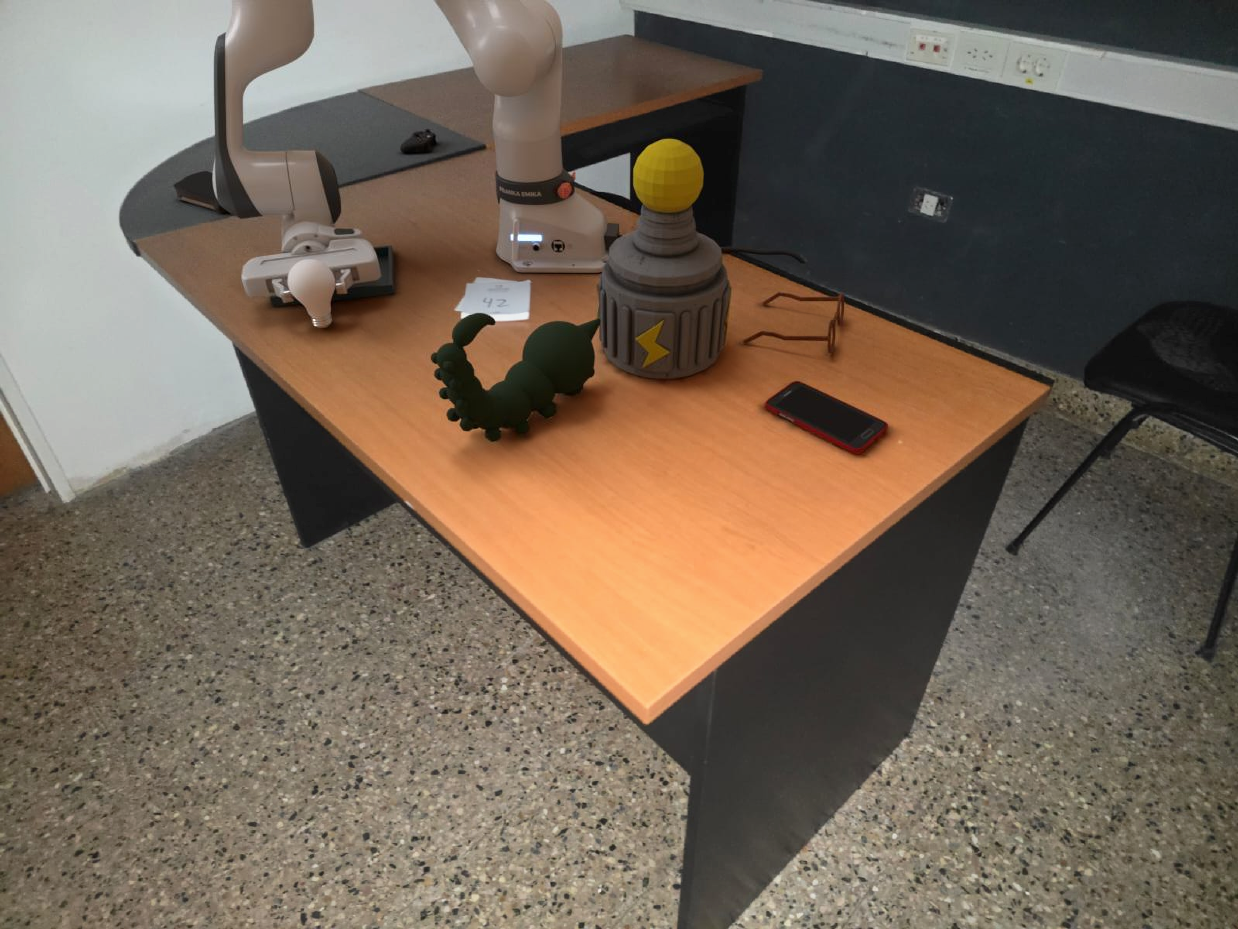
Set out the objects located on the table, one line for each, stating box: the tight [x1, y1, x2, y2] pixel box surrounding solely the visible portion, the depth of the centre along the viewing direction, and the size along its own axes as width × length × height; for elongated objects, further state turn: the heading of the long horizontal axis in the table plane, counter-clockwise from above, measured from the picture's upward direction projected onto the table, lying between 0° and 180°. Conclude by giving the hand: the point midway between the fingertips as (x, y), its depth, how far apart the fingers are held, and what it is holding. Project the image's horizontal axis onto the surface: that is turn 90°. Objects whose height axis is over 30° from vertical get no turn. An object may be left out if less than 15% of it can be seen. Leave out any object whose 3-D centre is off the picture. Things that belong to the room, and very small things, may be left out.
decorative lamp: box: [595, 138, 733, 380], centre depth 108 cm, size 19×19×30 cm
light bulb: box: [288, 259, 335, 329], centre depth 119 cm, size 7×7×11 cm
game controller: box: [399, 128, 438, 154], centre depth 183 cm, size 10×5×6 cm
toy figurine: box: [430, 312, 601, 443], centre depth 99 cm, size 9×19×25 cm
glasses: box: [742, 291, 845, 354], centre depth 119 cm, size 13×13×5 cm
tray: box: [269, 244, 395, 308], centre depth 134 cm, size 19×15×2 cm
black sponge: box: [173, 170, 228, 213], centre depth 159 cm, size 16×8×4 cm, turn 59°
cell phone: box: [764, 380, 889, 455], centre depth 103 cm, size 8×15×1 cm, turn 46°
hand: (314, 293), depth 117 cm, fingers closed on light bulb, 6 cm apart
